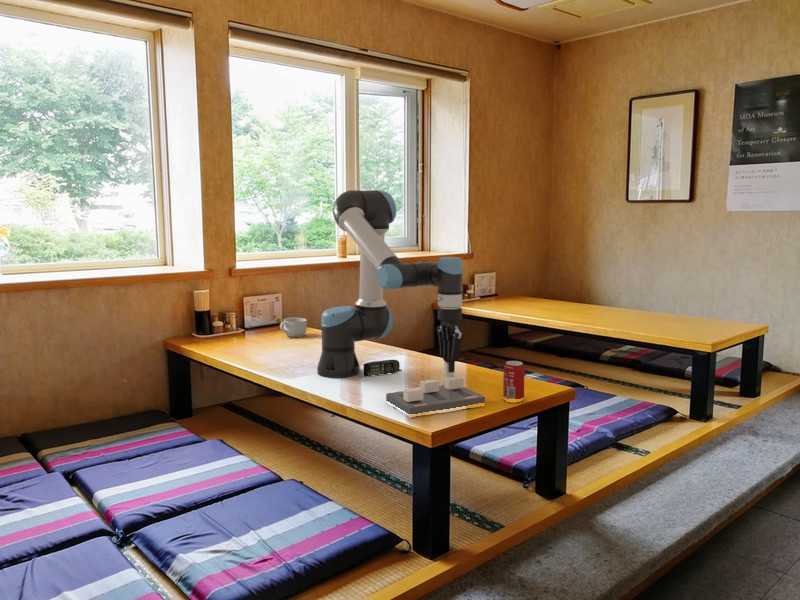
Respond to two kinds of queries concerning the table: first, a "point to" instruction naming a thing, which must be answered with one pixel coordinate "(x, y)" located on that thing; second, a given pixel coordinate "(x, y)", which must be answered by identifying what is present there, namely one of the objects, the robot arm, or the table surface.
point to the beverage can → (513, 380)
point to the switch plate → (436, 400)
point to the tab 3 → (453, 382)
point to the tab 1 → (413, 394)
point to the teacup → (294, 326)
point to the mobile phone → (381, 367)
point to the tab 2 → (429, 386)
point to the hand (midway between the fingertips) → (449, 381)
